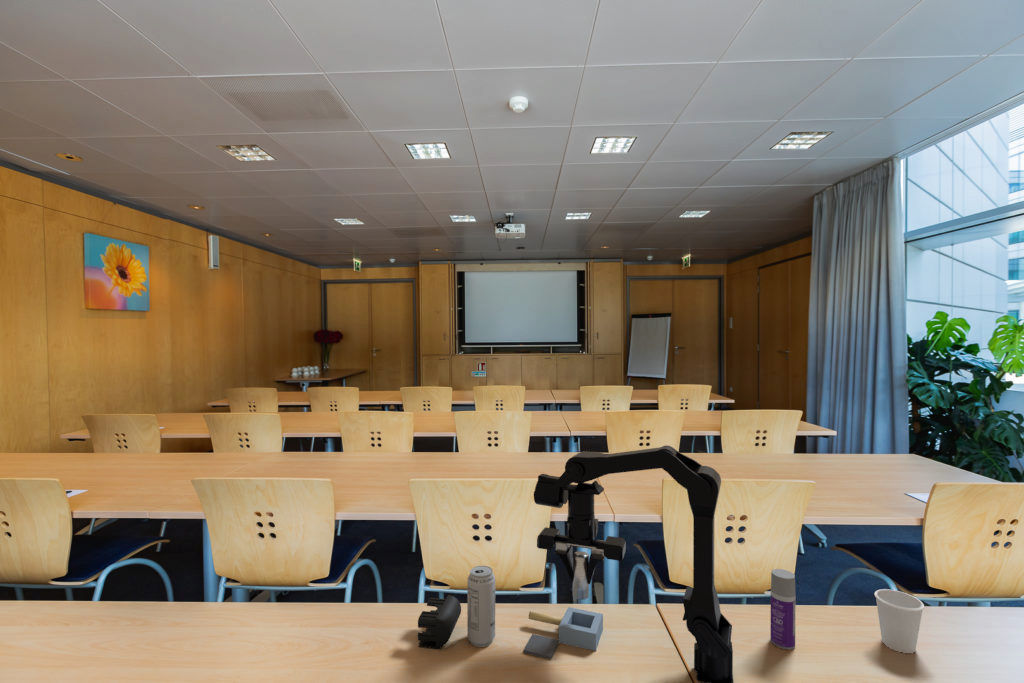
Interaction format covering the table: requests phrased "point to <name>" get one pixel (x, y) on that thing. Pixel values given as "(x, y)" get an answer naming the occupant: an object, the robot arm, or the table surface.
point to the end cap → (438, 622)
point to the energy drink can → (481, 606)
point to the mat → (541, 646)
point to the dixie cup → (899, 619)
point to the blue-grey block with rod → (575, 627)
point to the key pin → (580, 575)
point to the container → (783, 608)
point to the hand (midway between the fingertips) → (580, 581)
